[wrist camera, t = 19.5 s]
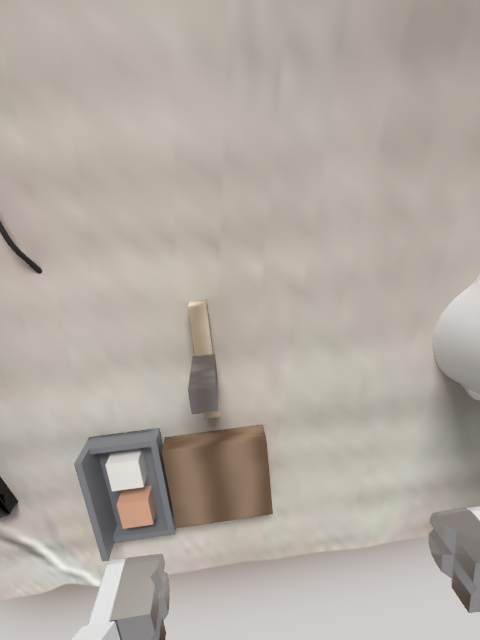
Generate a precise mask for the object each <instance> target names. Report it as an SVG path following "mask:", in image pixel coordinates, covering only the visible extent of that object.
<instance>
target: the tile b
mask: <svg viewBox="0 0 480 640" xmlns="http://www.w3.org/2000/svg"><path fill="white" fill-rule="evenodd" d="M117 508H118V512H119V516H120V520H121V524H122V527H123V529H126V528H133V527H140V526H146V525H153V524H154V519H155V514H156V505H155V500H154V496H153V491H152V487H151V486H146V487H142V488H134V489H127V490H121V493H120V496H119V499H118V502H117Z"/></svg>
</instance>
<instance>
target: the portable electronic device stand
mask: <svg viewBox="0 0 480 640" xmlns="http://www.w3.org/2000/svg"><path fill="white" fill-rule="evenodd" d="M17 503H18V501H17V499H16V498H15V496H14V495H13V493H12V492H11V491H10V489H9V488H8V487H7V485H6V484H5V482H4V481H3V480H2V478H1V477H0V518H3V517H6V516H8V515H10V514H11V511H12V510H13V508H14V507H15V506H16V504H17Z"/></svg>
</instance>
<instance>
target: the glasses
mask: <svg viewBox="0 0 480 640" xmlns="http://www.w3.org/2000/svg"><path fill="white" fill-rule="evenodd" d="M0 232H1V234H2V236H3V238H4V239H5V241H6V242H7V244H8V245H9V246H10V247H11V248H12V250H13V251H14V252H15V253H16V254H17V255H18V256H19V257H21V258H22V259H23V260H24V261H25V262H26V263H27V264H29V265H30V266H31V267H32V268H33V269H34V270H35V271H37V272H38V273H41V272H42V270H41V268H40V267H38V266H37V265H36V264H35V263H34V262H33V261H32V260H30V259H29V258H28V257H27V256H26V255H25V254H24V253H22V252H21V251H20V250H19V249H18V247H17V246H16V245H15V244H14V243H13V241H12V240H11V239H10V237H9V235H8V234H7V232H6V230H5V228H4V227H3V225H2V223H1V222H0Z"/></svg>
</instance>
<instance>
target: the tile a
mask: <svg viewBox="0 0 480 640" xmlns="http://www.w3.org/2000/svg"><path fill="white" fill-rule="evenodd" d="M105 466H106V470H107V474H108V478H109V482H110V486H111V490H112V491H119V490H127V489H134V488H142V487H144V485H145V481H146V477H147V468H146V463H145V459H144V454H143V449H142V448H137V449H130V450H122V451H114V452H111V454H110V456H109V458H108V460H107V463H106V465H105Z"/></svg>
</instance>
